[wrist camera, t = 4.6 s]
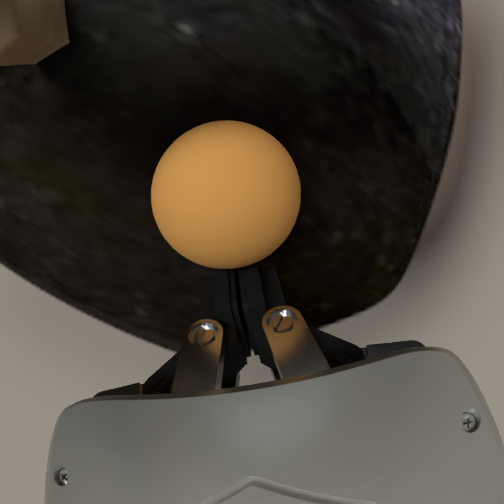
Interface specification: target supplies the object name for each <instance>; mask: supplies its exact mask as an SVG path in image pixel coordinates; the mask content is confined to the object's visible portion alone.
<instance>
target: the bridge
mask: <svg viewBox="0 0 504 504" xmlns="http://www.w3.org/2000/svg"><path fill="white" fill-rule="evenodd" d="M68 43H70V42H69V36H68V29H67V22H66V13H65V3H64V0H0V66H8V65H23V64H37V63H38V62H40V61H41V60H43V59H44V58H46V57H47V56H49V55H50V54H52V53H53V52H55V51H57V50H58V49H60V48H61V47H63V46H65V45H67V44H68Z"/></svg>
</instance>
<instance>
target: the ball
mask: <svg viewBox="0 0 504 504" xmlns="http://www.w3.org/2000/svg"><path fill="white" fill-rule="evenodd" d="M300 201H301V187H300V180H299V176H298V173H297V169H296V166H295V164H294V162H293V160H292V158H291V156H290V155H289V153H288V152H287V150H286V149H285V148H284V147H283V146H282V145H281V143H280V142H279V141H278V140H277V139H275V138H274V137H273V136H272V135H270V134H269V133H267V132H266V131H264V130H262V129H261V128H258V127H256V126H254V125H251V124H248V123H244V122H240V121H231V120H225V121H213V122H209V123H205V124H202V125H200V126H197V127H195V128H193V129H191V130H189V131H187V132H186V133H184V134H183V135H181V136H180V137H179V138H178V139H176V140H175V141H174V142H173V143H172V144H171V145H170V146H169V147H168V149H167V150H166V152H165V153H164V154H163V156H162V157H161V159H160V161H159V163H158V165H157V168H156V171H155V174H154V177H153V181H152V187H151V202H152V210H153V214H154V218H155V220H156V223H157V225H158V227H159V230H160V231H161V233H162V235H163V236H164V238H165V239H166V240H167V242H168V243H169V244H170V245H171V246H172V247H173V248H174V249H175V250H176V251H177V252H179V253H180V254H181V255H182V256H184V257H185V258H187V259H189V260H191V261H193V262H195V263H197V264H200V265H203V266H206V267H210V268H217V269H234V268H240V267H244V266H248V265H251V264H253V263H256V262H258V261H260V260H262V259H264V258H265V257H267V256H268V255H270V254H271V253H272V252H273V251H275V250H276V249H277V248H278V247H279V246H280V245H281V244H282V243H283V242H284V240H285V239H286V238H287V236H288V235H289V233H290V232H291V230H292V228H293V226H294V224H295V221H296V218H297V215H298V212H299V208H300Z"/></svg>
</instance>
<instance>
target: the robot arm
mask: <svg viewBox="0 0 504 504" xmlns="http://www.w3.org/2000/svg"><path fill="white" fill-rule="evenodd" d="M238 273H239V274H238ZM247 327H248V328H247ZM248 331H249V335H250V339H251V342H252V346H253V350H254V354H255V355H259V357H260V361H261V363H262V364H264V365H266V366H268V367H270V368H271V371H272V374H273V377H274V379H275V381H270V382H265V383H259V384H253V385H247V386H239V380H240V375H239V371H240V370H241V369H242V368H243V367H244V366H245V365H246V364H247V357H250V356H251V351H250V343H249V336H248ZM45 485H46V486H45V504H504V446H503V443H502V439H501V436H500V434H499V431H498V429H497V426H496V423H495V421H494V419H493V416H492V414H491V412H490V409H489V407H488V405H487V403H486V400H485V399H484V396H483V394H482V392H481V391H480V389H479V387H478V385H477V383H476V381H475V380H474V378H473V376H472V375H471V373H470V372H469V370H468V369H467V367H466V366H465V365H464V363H463V362H462V361H461V360H460V359H459V357H457V356H456V355H455V354H454V353H453V352H451V351H449V350H446V349H443V348H438V347H425V346H424V345H423V344H422V343H420V342H418V341H413V340H409V341H401V342H392V343H383V344H372V345H367V346H366V348H359V347H358V346H356V345H354V344H352V343H349V342H347V341H345V340H342V339H340V338H337V337H335V336H333V335H330V334H328V333H325V332H323V331H321V330H318V329H316V328H314V327H311V326H309V325H307V324H306V322H305V320H304V318H303V317H302V315H301V313H300V312H299V311H298V310H297V309H295V308H293V307H290V306H286V303H285V299H284V296H283V292H282V289H281V285H280V282H279V278H278V275H277V271H276V268H275V265H269V266H264V267H259V268H258V267H257V262H256V263H253V264H251V265H248V266H244V267H240V268H238V270H237V268H234V269H217V268H214V276H210V277H204V278H202V283H201V304H200V320H199V321H197V322H195V323H193V324H192V325H190V326H189V328H188V329H187V330H186V333H185V335H184V339H183V343H182V347H181V350H180V351H179V352H177V353H176V354H175V355H174V356H173V357H172V358H171V359H170V360H168V361H167V362H166V363H165V364H164V365H163V366H162V367H161V368H160V369H159V370H157V371H156V372H155V373H154V374H153V375H152V376H151V377H149V378H148V379H147V380H146V382H145V383H144V384H142V385H141V384H140V383H135V384H131V385H127V386H123V387H119V388H115V389H110V390H106V391H102V392H100V393H97V394H96V395H95V396H94V397H93V398H89V399H85V400H82V401H79V402H76V403H74V404H72V405H70V406H68V407H67V408H65V409H64V410H63V411H62V413H61V414H60V416H59V418H58V420H57V422H56V425H55V428H54V432H53V436H52V440H51V444H50V450H49V456H48V462H47V471H46V483H45Z"/></svg>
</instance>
